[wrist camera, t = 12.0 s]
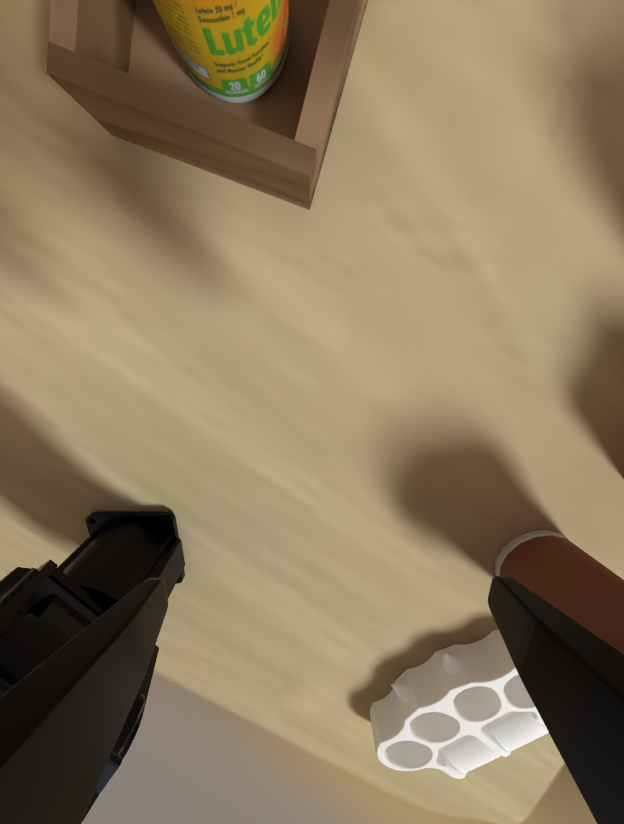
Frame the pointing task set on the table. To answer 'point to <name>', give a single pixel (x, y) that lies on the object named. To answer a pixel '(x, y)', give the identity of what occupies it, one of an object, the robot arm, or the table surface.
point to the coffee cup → (567, 581)
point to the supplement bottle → (229, 43)
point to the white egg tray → (456, 711)
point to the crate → (198, 110)
